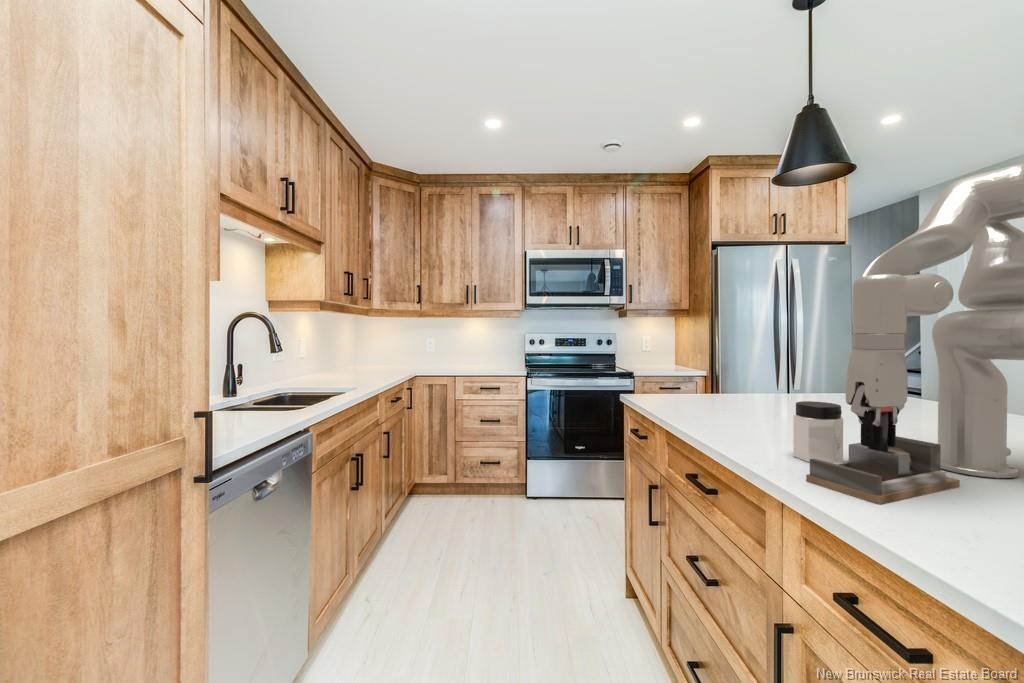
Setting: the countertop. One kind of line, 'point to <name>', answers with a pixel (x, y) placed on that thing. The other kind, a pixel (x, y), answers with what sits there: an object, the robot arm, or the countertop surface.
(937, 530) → the countertop surface
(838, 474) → the press base
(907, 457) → the handle
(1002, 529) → the countertop surface
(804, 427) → the jar
